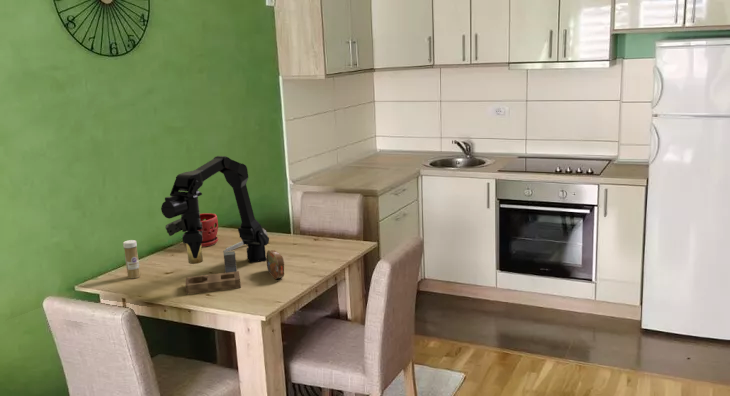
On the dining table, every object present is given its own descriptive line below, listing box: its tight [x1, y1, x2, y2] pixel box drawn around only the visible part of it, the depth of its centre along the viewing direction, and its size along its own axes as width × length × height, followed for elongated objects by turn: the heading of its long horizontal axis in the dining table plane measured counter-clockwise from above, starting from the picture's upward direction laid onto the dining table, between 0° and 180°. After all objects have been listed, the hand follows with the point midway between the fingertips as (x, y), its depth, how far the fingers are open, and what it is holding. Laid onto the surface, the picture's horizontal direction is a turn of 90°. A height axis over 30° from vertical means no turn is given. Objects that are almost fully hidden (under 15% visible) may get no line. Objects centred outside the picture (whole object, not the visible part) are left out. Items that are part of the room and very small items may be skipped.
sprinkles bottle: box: [122, 239, 141, 279], centre depth 246 cm, size 5×5×14 cm
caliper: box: [223, 227, 269, 253], centre depth 279 cm, size 20×1×6 cm, turn 129°
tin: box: [266, 249, 285, 280], centre depth 241 cm, size 15×3×8 cm, turn 23°
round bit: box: [185, 243, 204, 265], centre depth 229 cm, size 5×5×7 cm
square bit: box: [223, 250, 238, 273], centre depth 248 cm, size 4×4×7 cm
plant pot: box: [198, 212, 219, 248], centre depth 284 cm, size 13×13×12 cm
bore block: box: [185, 270, 242, 295], centre depth 233 cm, size 18×9×3 cm, turn 103°
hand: (195, 255), depth 230 cm, fingers closed on round bit, 5 cm apart
